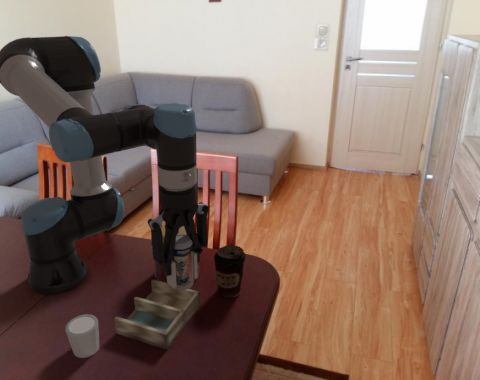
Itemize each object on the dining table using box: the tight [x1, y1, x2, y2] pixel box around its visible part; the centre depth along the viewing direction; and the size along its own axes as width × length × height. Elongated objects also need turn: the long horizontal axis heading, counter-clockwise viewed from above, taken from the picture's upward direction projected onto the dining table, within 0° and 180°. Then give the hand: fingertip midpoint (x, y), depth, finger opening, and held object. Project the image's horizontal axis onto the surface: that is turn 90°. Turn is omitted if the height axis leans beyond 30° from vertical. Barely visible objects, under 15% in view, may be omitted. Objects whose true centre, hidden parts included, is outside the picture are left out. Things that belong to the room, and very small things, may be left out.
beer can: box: [172, 234, 195, 290], centre depth 87 cm, size 5×5×12 cm
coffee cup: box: [213, 244, 247, 298], centre depth 108 cm, size 9×8×13 cm
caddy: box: [113, 278, 201, 351], centre depth 99 cm, size 14×16×4 cm
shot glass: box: [65, 313, 100, 359], centre depth 90 cm, size 7×7×7 cm
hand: (182, 280), depth 89 cm, fingers closed on beer can, 5 cm apart
